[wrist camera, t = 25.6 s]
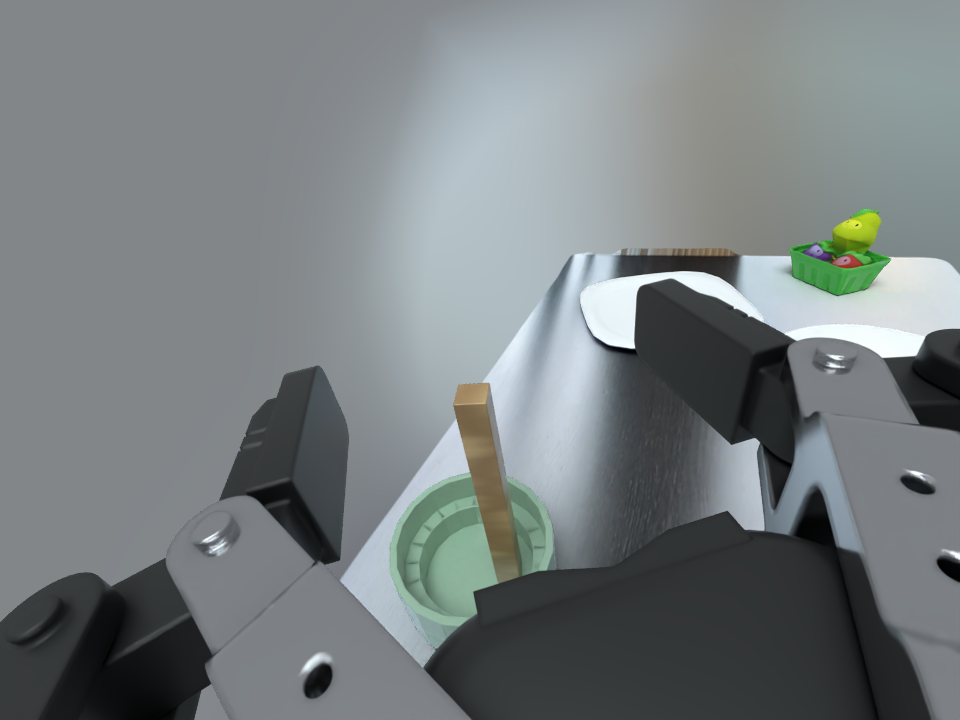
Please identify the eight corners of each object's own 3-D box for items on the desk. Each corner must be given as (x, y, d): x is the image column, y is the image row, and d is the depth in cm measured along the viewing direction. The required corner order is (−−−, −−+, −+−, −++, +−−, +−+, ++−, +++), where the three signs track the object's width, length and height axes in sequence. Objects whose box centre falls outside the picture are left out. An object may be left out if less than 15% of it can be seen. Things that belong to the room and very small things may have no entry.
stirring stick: (498, 585, 35) (452, 404, 24) (499, 562, 36) (458, 384, 26) (521, 585, 34) (486, 403, 24) (522, 562, 36) (489, 382, 25)
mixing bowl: (389, 656, 32) (365, 619, 29) (427, 511, 43) (413, 472, 40) (560, 670, 30) (555, 631, 26) (555, 512, 40) (551, 471, 37)
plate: (574, 290, 81) (573, 282, 80) (710, 274, 77) (711, 265, 76) (596, 362, 60) (596, 352, 59) (784, 344, 56) (787, 333, 56)
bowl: (722, 383, 52) (732, 334, 48) (880, 367, 50) (904, 314, 46) (817, 506, 37) (843, 449, 33) (1050, 489, 35) (1107, 426, 31)
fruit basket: (779, 275, 73) (795, 210, 67) (825, 265, 73) (846, 199, 67) (836, 301, 63) (861, 228, 57) (889, 289, 64) (920, 215, 58)
